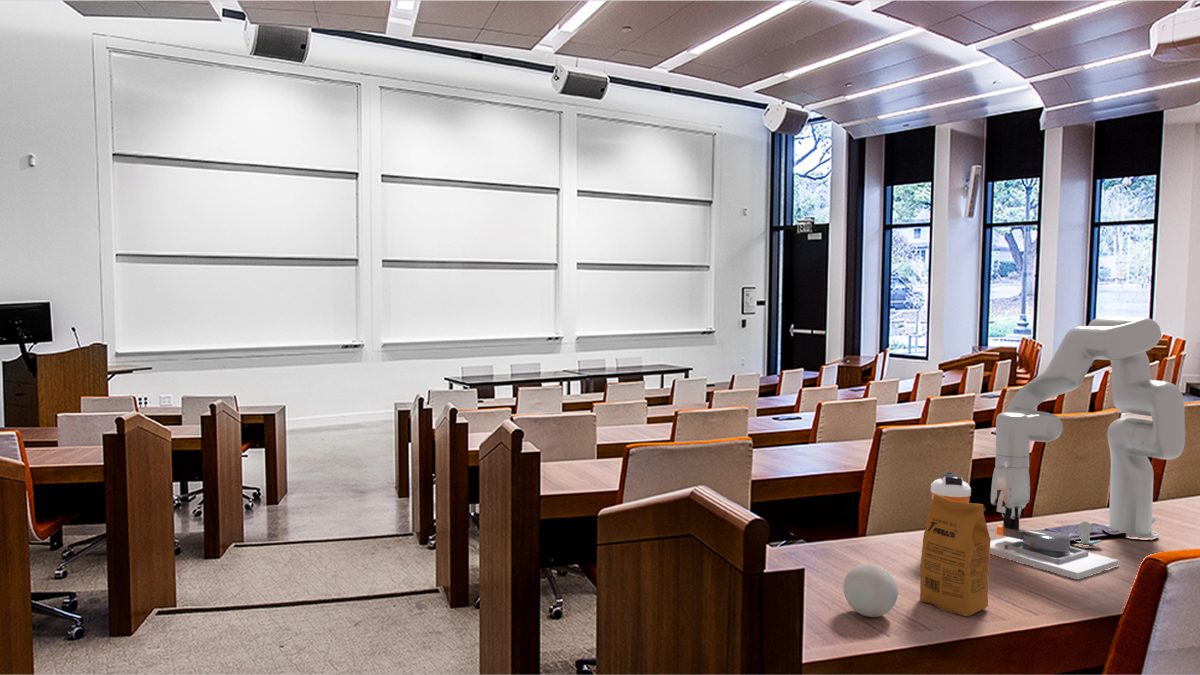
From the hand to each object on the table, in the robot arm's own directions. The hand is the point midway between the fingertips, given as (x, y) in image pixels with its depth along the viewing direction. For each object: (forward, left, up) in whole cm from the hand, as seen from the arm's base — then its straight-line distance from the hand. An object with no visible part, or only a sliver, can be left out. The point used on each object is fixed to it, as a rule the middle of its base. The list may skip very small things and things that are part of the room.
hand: (1011, 532), depth 195 cm
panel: (+1, +9, -4) cm, 10 cm away
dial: (+2, +6, -2) cm, 7 cm away
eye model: (+67, +11, -4) cm, 68 cm away
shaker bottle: (+20, -4, -4) cm, 21 cm away
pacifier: (-18, +9, -4) cm, 20 cm away
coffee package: (+48, +16, -4) cm, 51 cm away
